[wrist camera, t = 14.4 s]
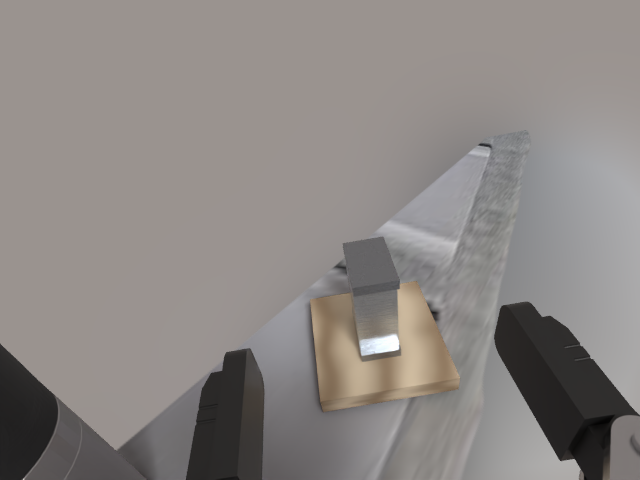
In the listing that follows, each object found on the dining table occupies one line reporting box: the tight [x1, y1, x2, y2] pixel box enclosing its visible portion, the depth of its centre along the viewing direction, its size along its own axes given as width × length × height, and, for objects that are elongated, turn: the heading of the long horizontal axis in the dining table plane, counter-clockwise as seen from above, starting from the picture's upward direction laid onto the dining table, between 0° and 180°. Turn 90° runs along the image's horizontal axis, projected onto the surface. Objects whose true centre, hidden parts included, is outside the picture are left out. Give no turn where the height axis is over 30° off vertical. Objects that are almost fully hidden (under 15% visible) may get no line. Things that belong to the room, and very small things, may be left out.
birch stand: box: [310, 281, 460, 412], centre depth 46 cm, size 15×15×3 cm
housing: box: [343, 237, 401, 362], centre depth 41 cm, size 4×7×12 cm, turn 5°
